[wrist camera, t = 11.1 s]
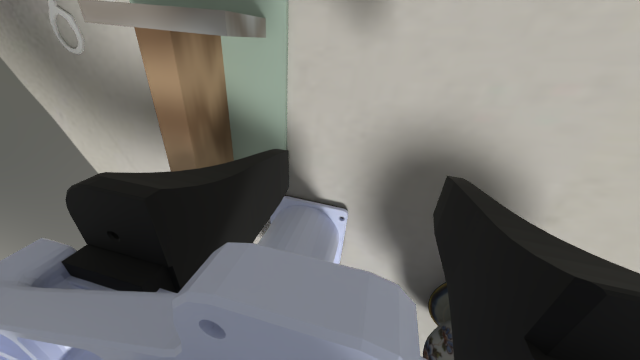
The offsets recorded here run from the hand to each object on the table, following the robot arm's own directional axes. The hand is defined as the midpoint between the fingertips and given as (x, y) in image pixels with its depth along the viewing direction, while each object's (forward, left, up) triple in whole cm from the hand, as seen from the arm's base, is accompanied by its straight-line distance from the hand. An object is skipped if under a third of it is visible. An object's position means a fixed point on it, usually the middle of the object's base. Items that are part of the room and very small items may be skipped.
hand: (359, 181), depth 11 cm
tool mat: (0, +14, -9) cm, 17 cm away
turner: (0, +14, -9) cm, 16 cm away
